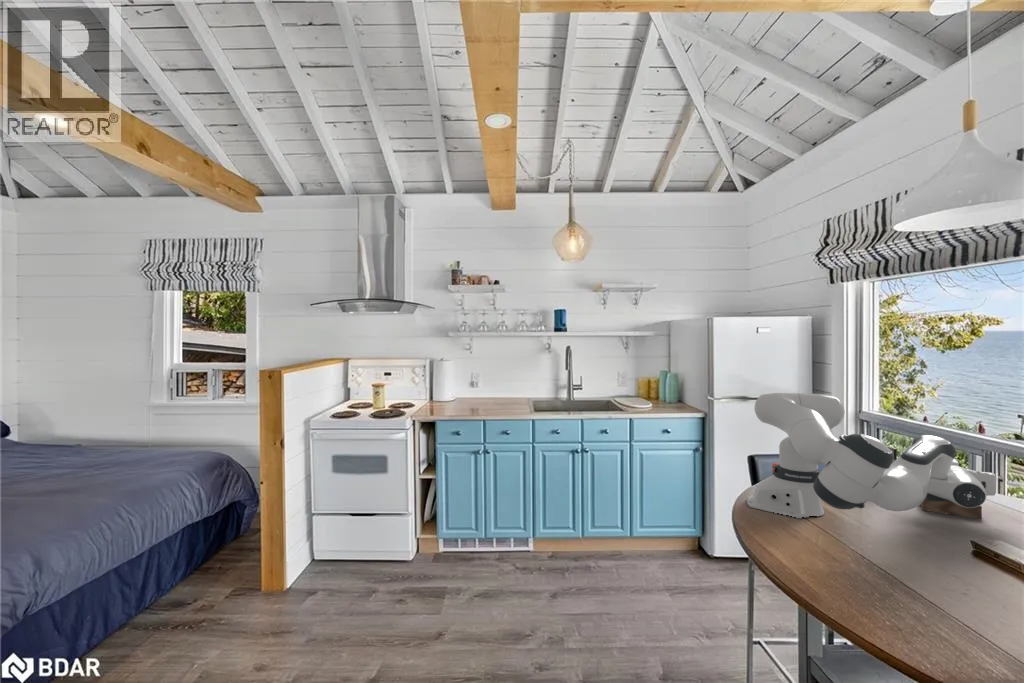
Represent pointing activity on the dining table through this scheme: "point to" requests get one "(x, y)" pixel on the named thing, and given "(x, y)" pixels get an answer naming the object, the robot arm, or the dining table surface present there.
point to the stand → (951, 508)
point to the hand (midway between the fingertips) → (947, 469)
